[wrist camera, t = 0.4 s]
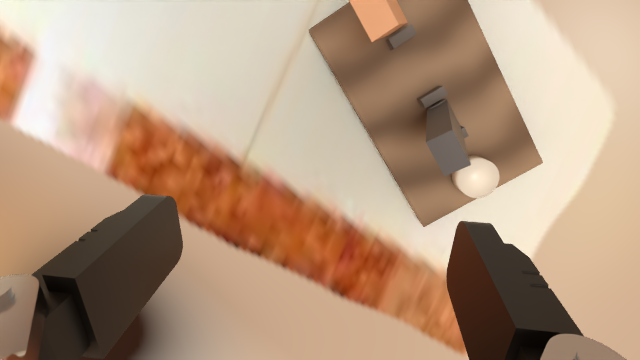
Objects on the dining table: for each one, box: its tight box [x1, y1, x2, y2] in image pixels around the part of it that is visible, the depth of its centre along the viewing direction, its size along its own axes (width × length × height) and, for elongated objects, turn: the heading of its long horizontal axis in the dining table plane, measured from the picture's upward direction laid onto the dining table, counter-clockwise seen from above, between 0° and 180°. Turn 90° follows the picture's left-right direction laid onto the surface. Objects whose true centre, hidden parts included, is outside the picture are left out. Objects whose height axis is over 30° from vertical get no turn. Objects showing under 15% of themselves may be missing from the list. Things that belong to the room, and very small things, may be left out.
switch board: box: [309, 0, 543, 227], centre depth 35 cm, size 24×14×4 cm, turn 32°
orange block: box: [349, 0, 408, 42], centre depth 27 cm, size 3×2×12 cm, turn 32°
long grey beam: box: [426, 98, 471, 176], centre depth 30 cm, size 3×2×12 cm, turn 32°
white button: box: [452, 155, 499, 198], centre depth 35 cm, size 4×4×2 cm
